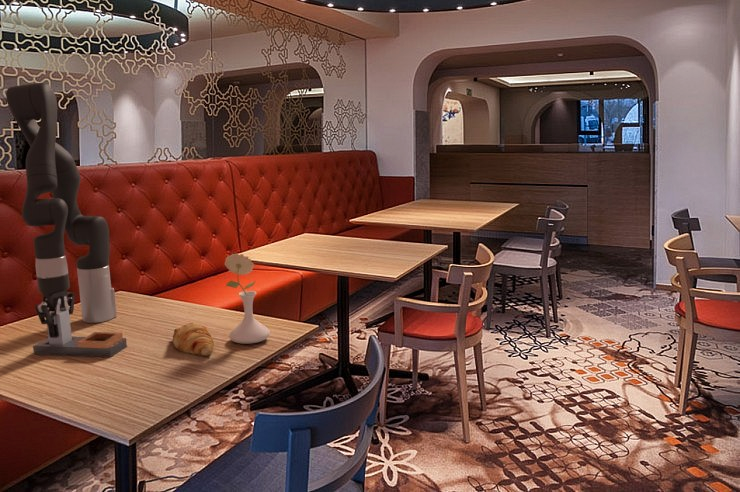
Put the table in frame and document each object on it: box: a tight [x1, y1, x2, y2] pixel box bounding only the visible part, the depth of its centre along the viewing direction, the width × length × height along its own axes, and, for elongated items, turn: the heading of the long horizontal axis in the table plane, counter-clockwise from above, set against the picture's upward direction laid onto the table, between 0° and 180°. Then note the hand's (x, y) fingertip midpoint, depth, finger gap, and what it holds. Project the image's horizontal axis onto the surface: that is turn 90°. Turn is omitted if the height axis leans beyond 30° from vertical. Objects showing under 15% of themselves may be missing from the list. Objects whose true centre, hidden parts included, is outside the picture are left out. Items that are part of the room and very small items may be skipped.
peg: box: [46, 310, 73, 345], centre depth 160 cm, size 4×4×10 cm
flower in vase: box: [224, 252, 271, 345], centre depth 165 cm, size 13×11×25 cm
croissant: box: [172, 322, 215, 357], centre depth 161 cm, size 21×10×8 cm, turn 42°
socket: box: [32, 331, 128, 358], centre depth 160 cm, size 22×8×4 cm, turn 83°
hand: (59, 334), depth 161 cm, fingers closed on peg, 4 cm apart
